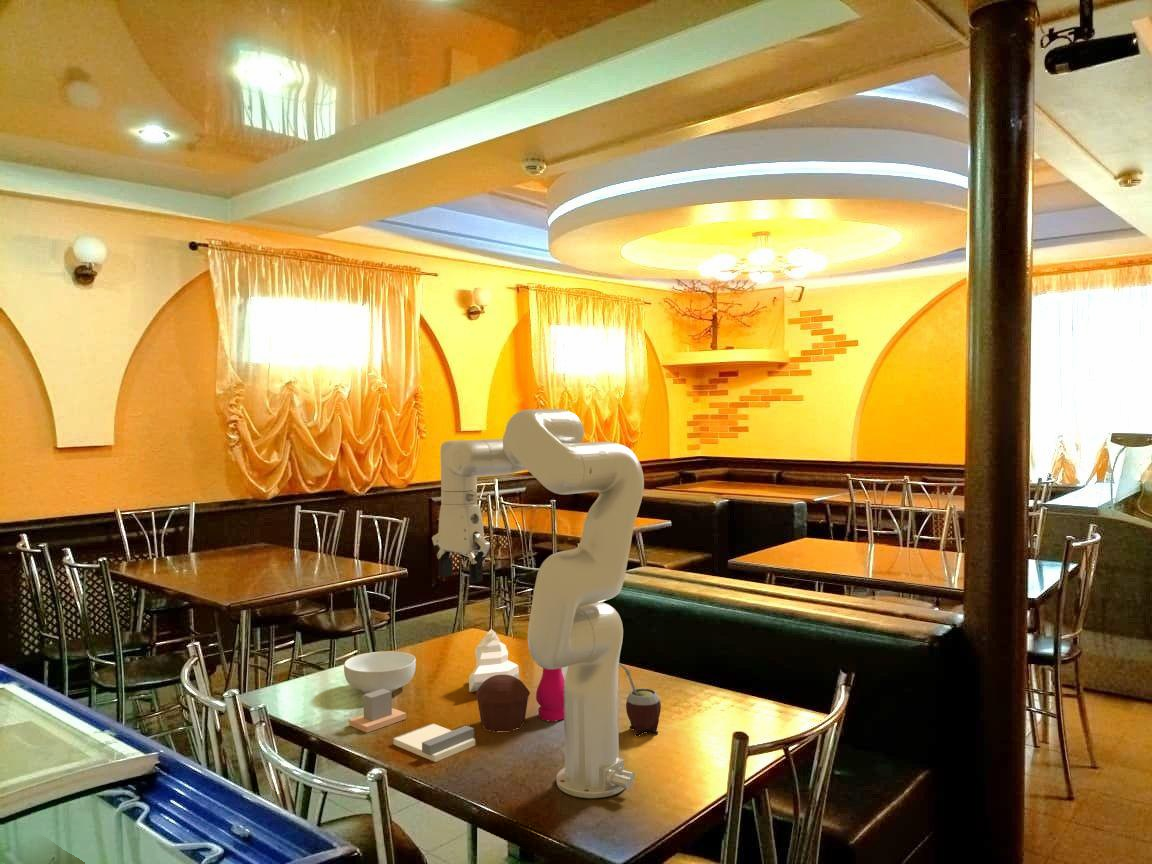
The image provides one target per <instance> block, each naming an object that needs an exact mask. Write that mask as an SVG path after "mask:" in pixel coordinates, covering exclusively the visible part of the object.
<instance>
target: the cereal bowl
mask: <svg viewBox="0 0 1152 864" xmlns="http://www.w3.org/2000/svg"><path fill="white" fill-rule="evenodd" d="M416 658H417V657H415V655H413V654H411V653H407V652H402V651H392V650H391V651H388V650H387V651H385V650H384V651H374V652H373V651H372V652H371V651H370V652H367V653H360V654H357V655H354V656H352V657H349V658H348V659H347V660H345V662H344V664H343V673H344V677H345V681H346V682H347V683H348V684H349V685H350V687H352V688H353V689H356V690H358V691H360V692H363V693H364V694H367V693H370V692H373V691H377V690H380V689H386V690H389V691H391V693H394V692H395V691H397V690H398V689H400V688H401V687H405V686H406V685H407V684H408V683H410V681H411V680H412V679H413V677H414V675H415V673H416V667H417V659H416Z"/></svg>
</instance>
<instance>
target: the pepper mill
mask: <svg viewBox="0 0 1152 864" xmlns="http://www.w3.org/2000/svg"><path fill="white" fill-rule="evenodd" d="M564 680H565V676H564V675H563V670H562V668H559V669H545V668H542V675H541V678H540V680H539V681H540V682H539V683H538V686H537V689H536V692H535V693H536V694H535V700H536V702H537V703H538V705H539V707H538V718H539V719H540V718H541V719H540V720H542V719H543V720H542V721H544V720H549V721H548V722H556V721H555V720H560V721H562V720H561V719H563V720H564Z"/></svg>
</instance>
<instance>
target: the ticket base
mask: <svg viewBox="0 0 1152 864" xmlns="http://www.w3.org/2000/svg"><path fill="white" fill-rule="evenodd" d="M392 745H394V746H397V747H399V748H401V749H403V750H406V751H408V752H411V753H413V754H415V755H418V756H420V757H422V758H425V759H426V760H429V761H431V762H435V763H437V762H440V761H441V760H443V759H446V758H448V757H451V756H453V755H456V754H458V753H461V752H463V751H466V750H468V749H470V748H473V747H475V746H476V738H475V728H474V727H471V726H469V725H463V726H461V727H458V728H456V729H453V730H451V729H449V728H446V727H443V726H441V725H438V724H436V723H433V722H432V723H429V724H426V725H423V726H422V727H419V728H416V729H413V730H411V731H408V732H404V733H402V734H400V735H397V736H395V737H392Z"/></svg>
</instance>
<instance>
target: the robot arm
mask: <svg viewBox="0 0 1152 864" xmlns="http://www.w3.org/2000/svg"><path fill="white" fill-rule="evenodd" d="M584 428H585V427H584V425H583V422H582V421H581V419H580V417H578V415H576V414H575V413H574V412H572V411H569V410H565V409H561V408H542V409H541V408H540V409H539V408H537V409H536V408H535V409H534V408H532V409H529V408H528V409H523V410H519V411H517V412H516V413H514V414H513V415H512V416H511V417H510V419H508V422H507V423H506V427H505V431H504V433H503V437H502V438H496V439H495V438H493V439H492V438H489V439H476V440H475V439H474V440H473V439H471V440H470V439H468V440H462V439H461V440H447V441H444V442H442V444H441V445H440V490H441V491H440V493H441V495H440V497H441V498H440V499H441V505H440V507H439V508H440V509H439V510H440V511H439V516H438V532H437V533H436V534H434V535H432V537H431V540H432V544H433V546H434V551H435V553H436V557H437V559H438V569H439V570H438V571H439V572H438V573H439V574H438V577H439V578H443V579H444V578H446V577H451V576H453V557H451V555H452V553H454V554H460V555H461V554H463V555H467V557H468V559H469V561H470V562H471V563H469V564H468V568H469V569H468V570H469V571H468V573H469V575H468V576H469V577H468V578H469V583H470V584H477V583H479V582H480V583H481V582H483V579H484V572H483V571H484V570H483V567H484V566H483V564H484V563H485V561H486V558H487V557H488V555H489V553H488V552H489V551H490V547H491V544H490V542H489V541H488V540H486V538H485V531H484V530H485V529H484V521H483V514H482V510H481V506H480V504H479V505H478V499H479V496H478V478H479V477H491V476H506V475H510V474H515V473H518V472H522V471H526V470H527V471H528V472H529V473H530V474H531V475H532V476H533V477H534V478H535V479H536V480H537V481H538V482H539V483H540V484H541V485H542V486H543V487H544V488H545V489H547V490H548V491H550V492H552V493H553V494H558V495H574V494H582V493H583V494H584V493H593V492H598V494H599V495H598V496H597V498H596V500H595V501H594V503H592V505H591V506H590V507H589V509H588V512H587V513H586V516H585V519H584V522H583V526H582V533H581V537H580V541H579V544H578V546H576V547H575V548H573V549H568V550H562V551H558V552H555V553H553V554H550V555H548V557H546V559H544V560H543V562H542V563H541V565H540V567H539V569H538V571H537V575H536V577H535V578H536V579H535V583H534V591H533V594H532V595H533V596H532V602H531V603H532V604H531V609H530V615H529V622H528V628H527V629H528V630H527V644H528V645H527V647H528V650H529V654H530V656H531V658H532V660H533V661H534V663H535V664H536V665H537V666H539V667H541V668H542V669H543V668H545V669H559V668H566V667H567V668H566V671H565V676H564V719H563V722H564V723H563V725H564V729H563V730H564V731H563V732H564V767H563V768H562V769H560V770H559V771H558V772H557V774H556V779H555V780H556V786H557V788H559V790H560V791H562V792H563V793H564V794H567V795H570V796H573V797H577V798H583V799H601V798H602V799H603V798H607V797H611V796H615V795H617V794H619V793H621V792H622V791H623V790H627V791H630V790H631V789H632V787H633V785H634V781H635V779H636V773H635V772H633V771H630V770H626V769H625V760H624V758H621V757H620V744H619V737H620V736H619V735H620V734H619V733H620V732H619V667H620V665H619V663H620V656H621V650H622V645H623V638H624V627H623V621H622V619H621V616H620V614H619V612H618V611H617V610H616V608H614V607H613V606H611V605H610V604H609V603H605V601H608V600H611V599H613V598H615V597H617V596H618V595H619V593H620V592H621V591H622V588H623V586H624V581H625V577H626V572H627V567H628V562H629V561H628V560H629V556H630V552H631V551H630V550H631V547H632V546H631V545H632V541H633V539H632V538H633V534H634V533H633V532H634V527H635V523H636V521H637V516H638V514H639V510H640V507H641V504H642V499H643V496H644V495H643V494H644V489H645V487H644V486H645V478H644V472H643V468H642V465H641V462H640V460H639V458H638V457H637V455H636V454H635V453H634V452H633V450H631V449H630V447H628V446H625V445H624V444H621V443H616V442H611V441H591V442H589V441H588V442H583V439H584V435H585V430H584Z"/></svg>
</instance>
